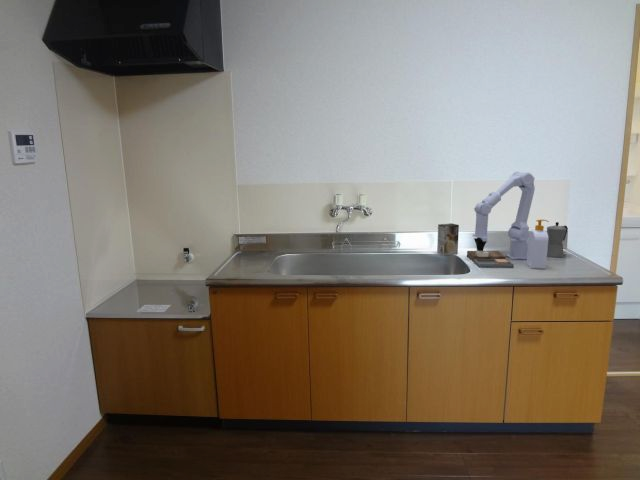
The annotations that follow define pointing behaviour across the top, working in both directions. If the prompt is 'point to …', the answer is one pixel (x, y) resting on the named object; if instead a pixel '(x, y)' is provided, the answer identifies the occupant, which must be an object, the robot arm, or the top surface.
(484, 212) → the robot arm
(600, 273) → the top surface
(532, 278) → the top surface
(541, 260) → the soap bottle
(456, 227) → the coffee box
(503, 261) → the terracotta tile
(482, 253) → the cream tile
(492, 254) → the walnut plate
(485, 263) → the box
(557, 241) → the coffeepot
